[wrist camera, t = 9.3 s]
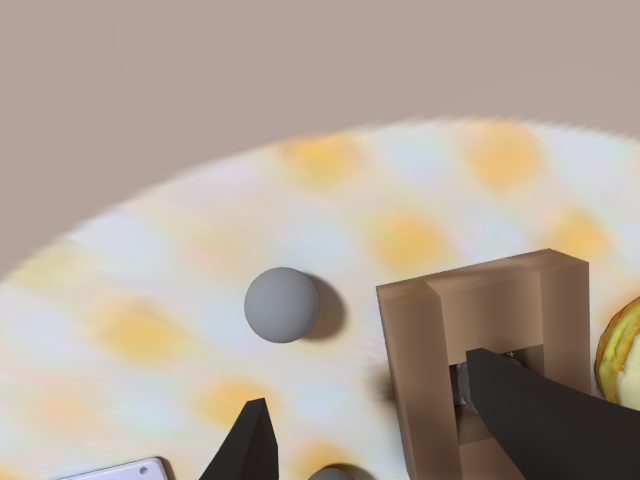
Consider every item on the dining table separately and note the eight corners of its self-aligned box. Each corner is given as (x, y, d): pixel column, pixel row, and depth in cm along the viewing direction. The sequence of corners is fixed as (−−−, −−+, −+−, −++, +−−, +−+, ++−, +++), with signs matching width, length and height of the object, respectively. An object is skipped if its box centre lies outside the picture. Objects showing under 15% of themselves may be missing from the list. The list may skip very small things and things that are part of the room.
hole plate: (407, 470, 25) (422, 512, 22) (375, 286, 22) (389, 306, 19) (556, 434, 25) (591, 470, 22) (548, 248, 22) (588, 262, 19)
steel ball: (448, 400, 24) (486, 446, 20) (441, 347, 23) (480, 384, 19) (502, 383, 24) (550, 424, 20) (498, 330, 23) (547, 363, 19)
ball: (257, 328, 22) (250, 366, 18) (241, 266, 21) (230, 292, 17) (322, 314, 22) (330, 348, 18) (308, 251, 21) (314, 273, 17)
